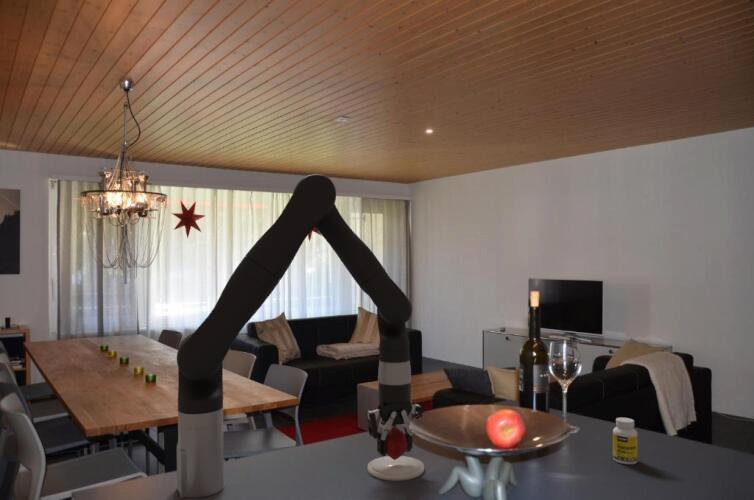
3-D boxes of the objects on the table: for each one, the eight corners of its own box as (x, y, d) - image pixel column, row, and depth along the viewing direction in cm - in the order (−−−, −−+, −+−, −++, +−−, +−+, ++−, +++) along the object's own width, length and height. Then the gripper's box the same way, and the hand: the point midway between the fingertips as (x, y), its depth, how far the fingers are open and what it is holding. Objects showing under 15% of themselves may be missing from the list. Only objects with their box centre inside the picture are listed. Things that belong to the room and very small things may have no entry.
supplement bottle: (614, 464, 137) (614, 422, 137) (611, 456, 142) (610, 415, 142) (639, 465, 136) (639, 423, 136) (635, 457, 141) (634, 417, 141)
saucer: (383, 484, 126) (383, 478, 126) (358, 465, 138) (358, 459, 138) (434, 474, 132) (434, 468, 132) (407, 456, 144) (407, 451, 144)
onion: (411, 462, 133) (411, 426, 133) (388, 465, 131) (388, 429, 131) (401, 454, 139) (401, 420, 139) (378, 457, 136) (378, 422, 136)
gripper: (373, 386, 128) (373, 463, 128) (429, 379, 135) (430, 453, 135) (359, 379, 135) (359, 453, 135) (413, 373, 141) (414, 443, 141)
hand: (395, 452), depth 135 cm, fingers closed on onion, 5 cm apart
